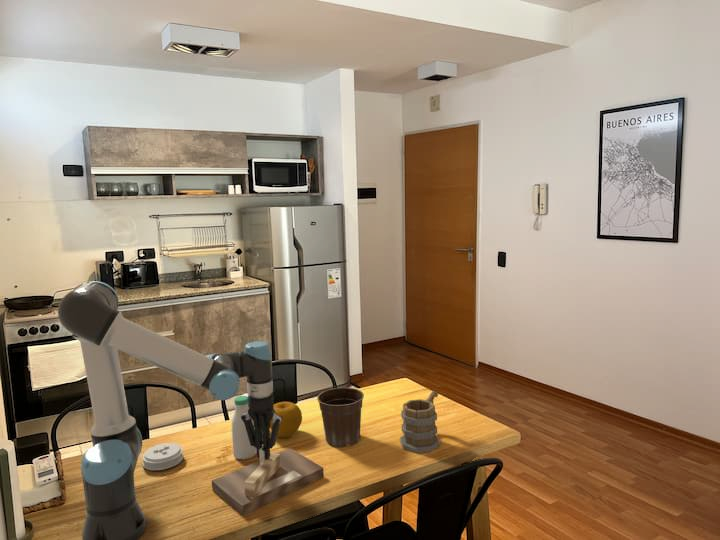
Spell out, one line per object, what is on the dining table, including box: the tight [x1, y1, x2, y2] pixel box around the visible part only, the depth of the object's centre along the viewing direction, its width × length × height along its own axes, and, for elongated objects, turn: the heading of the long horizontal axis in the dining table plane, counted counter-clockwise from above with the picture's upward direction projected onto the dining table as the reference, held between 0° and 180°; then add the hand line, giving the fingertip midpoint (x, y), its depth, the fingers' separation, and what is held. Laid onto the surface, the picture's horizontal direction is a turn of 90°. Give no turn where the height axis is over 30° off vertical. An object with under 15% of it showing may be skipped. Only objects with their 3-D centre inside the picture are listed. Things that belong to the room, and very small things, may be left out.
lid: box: [141, 442, 184, 471], centre depth 175 cm, size 13×13×5 cm
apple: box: [270, 401, 303, 439], centre depth 192 cm, size 13×13×11 cm
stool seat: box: [211, 447, 325, 517], centre depth 161 cm, size 28×18×3 cm, turn 132°
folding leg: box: [244, 452, 281, 497], centre depth 156 cm, size 17×3×4 cm, turn 163°
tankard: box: [399, 390, 441, 454], centre depth 184 cm, size 20×13×15 cm, turn 143°
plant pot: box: [316, 387, 365, 448], centre depth 186 cm, size 16×16×16 cm
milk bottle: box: [231, 395, 257, 460], centre depth 178 cm, size 8×8×20 cm
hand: (264, 467), depth 162 cm, fingers closed
